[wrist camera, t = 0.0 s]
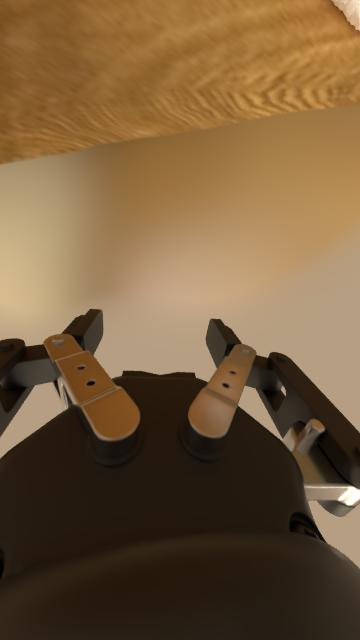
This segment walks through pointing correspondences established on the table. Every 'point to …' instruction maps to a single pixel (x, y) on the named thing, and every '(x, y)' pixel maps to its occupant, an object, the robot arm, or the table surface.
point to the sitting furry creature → (350, 11)
